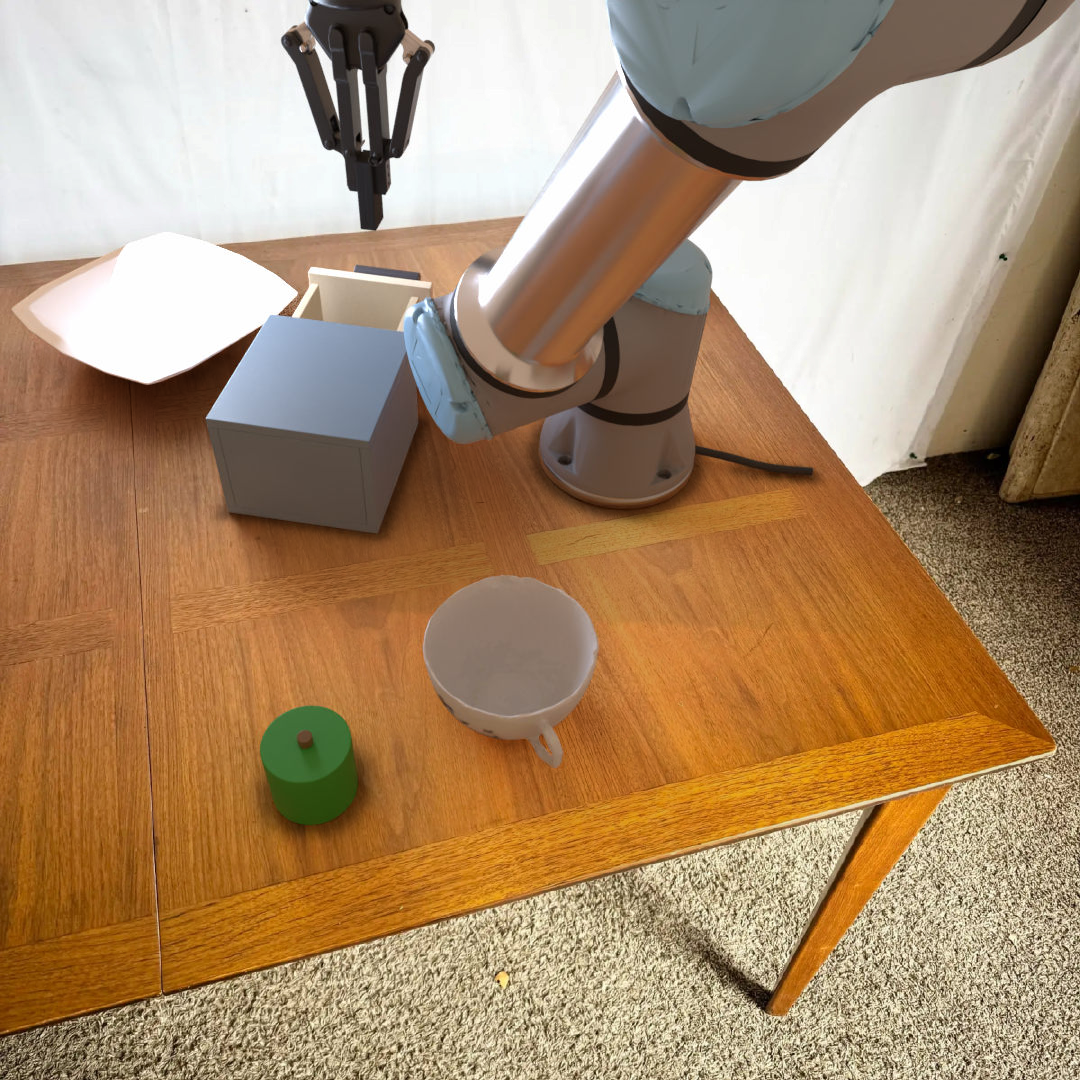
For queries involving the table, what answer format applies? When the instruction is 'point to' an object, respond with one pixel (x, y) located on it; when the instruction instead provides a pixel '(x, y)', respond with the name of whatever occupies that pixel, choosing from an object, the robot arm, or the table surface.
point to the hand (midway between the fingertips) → (372, 223)
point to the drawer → (363, 296)
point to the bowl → (154, 307)
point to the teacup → (511, 659)
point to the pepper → (310, 764)
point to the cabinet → (316, 423)
